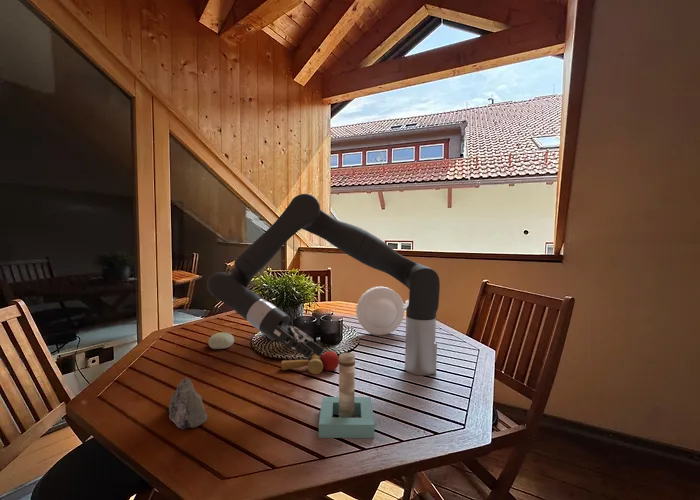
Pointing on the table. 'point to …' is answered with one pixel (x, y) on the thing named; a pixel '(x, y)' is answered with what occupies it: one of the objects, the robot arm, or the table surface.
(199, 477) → the table surface
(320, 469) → the table surface
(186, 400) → the mineral rock
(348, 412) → the beige banded cylinder
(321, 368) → the kendama
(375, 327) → the tracked sphere vehicle
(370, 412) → the teal square frame
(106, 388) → the table surface
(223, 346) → the sea urchin shell
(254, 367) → the table surface
